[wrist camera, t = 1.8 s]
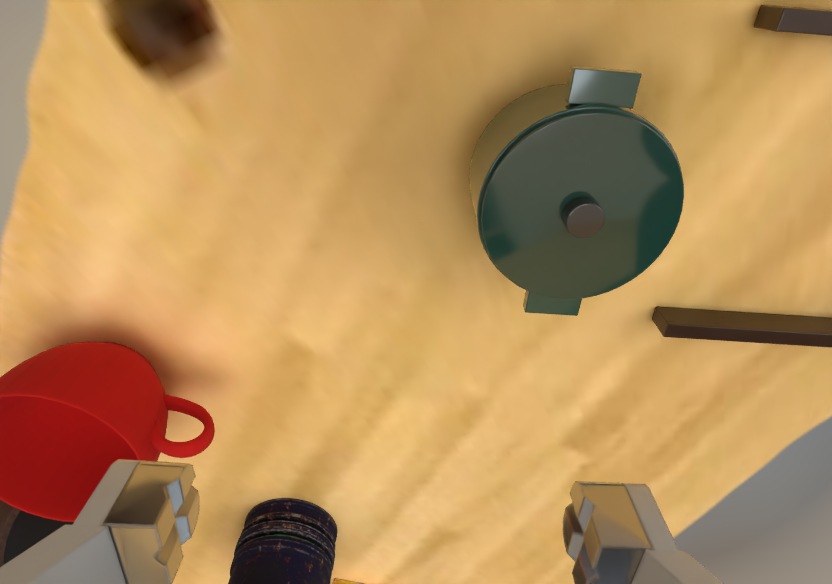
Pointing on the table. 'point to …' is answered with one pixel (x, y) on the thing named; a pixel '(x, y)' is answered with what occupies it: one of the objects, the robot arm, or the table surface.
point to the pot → (575, 190)
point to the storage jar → (285, 545)
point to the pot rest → (757, 324)
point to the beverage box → (344, 582)
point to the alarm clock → (22, 531)
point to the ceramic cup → (82, 424)
